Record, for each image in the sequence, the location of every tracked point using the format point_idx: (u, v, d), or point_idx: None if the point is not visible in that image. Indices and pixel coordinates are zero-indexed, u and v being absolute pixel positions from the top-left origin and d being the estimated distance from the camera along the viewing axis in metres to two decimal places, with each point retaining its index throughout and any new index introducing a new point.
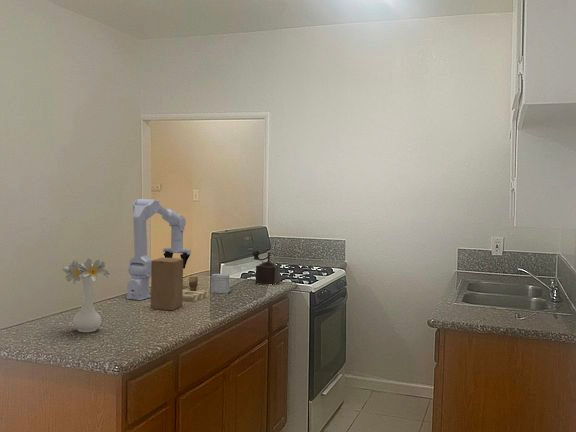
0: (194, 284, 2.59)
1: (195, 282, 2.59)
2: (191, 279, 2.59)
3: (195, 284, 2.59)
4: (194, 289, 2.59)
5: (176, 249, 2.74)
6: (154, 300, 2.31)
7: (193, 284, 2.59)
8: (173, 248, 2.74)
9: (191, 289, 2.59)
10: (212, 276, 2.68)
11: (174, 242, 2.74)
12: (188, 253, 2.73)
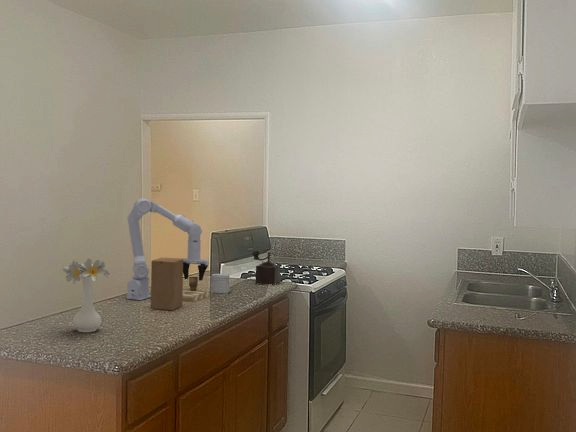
0: (194, 284, 2.59)
1: (195, 282, 2.59)
2: (191, 279, 2.59)
3: (195, 284, 2.59)
4: (194, 289, 2.59)
5: (193, 260, 2.57)
6: (154, 300, 2.31)
7: (193, 284, 2.59)
8: (190, 259, 2.57)
9: (191, 289, 2.59)
10: (212, 276, 2.68)
11: (191, 252, 2.57)
12: (206, 264, 2.56)
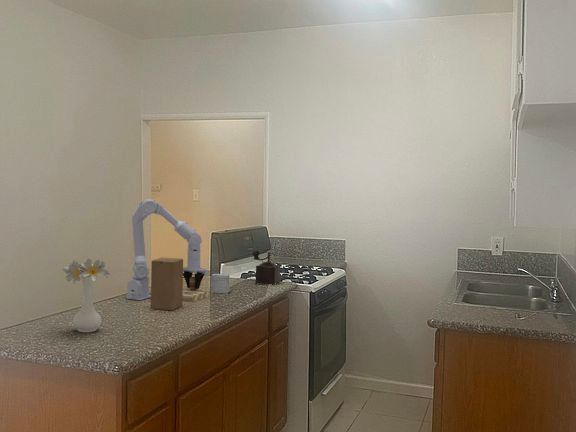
0: (194, 284, 2.59)
1: (195, 282, 2.59)
2: (191, 279, 2.59)
3: (195, 284, 2.59)
4: (194, 289, 2.59)
5: (193, 269, 2.57)
6: (154, 300, 2.31)
7: (193, 284, 2.59)
8: (190, 268, 2.57)
9: (191, 289, 2.59)
10: (212, 276, 2.68)
11: (191, 261, 2.57)
12: (206, 273, 2.57)
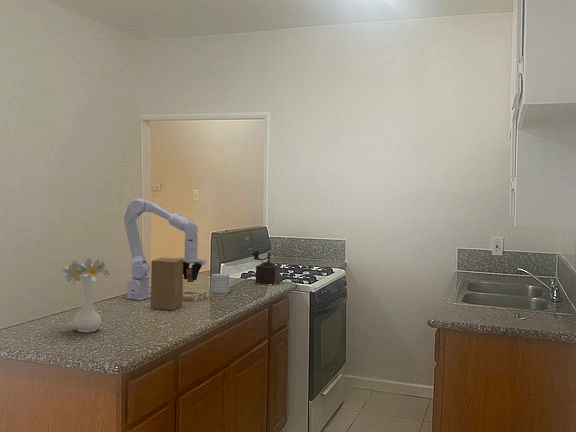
0: (191, 275, 2.52)
1: (192, 273, 2.52)
2: (188, 270, 2.52)
3: (192, 275, 2.52)
4: (191, 280, 2.53)
5: (190, 259, 2.51)
6: (154, 300, 2.31)
7: (190, 275, 2.52)
8: (187, 258, 2.51)
9: (188, 280, 2.53)
10: (212, 276, 2.68)
11: (188, 252, 2.51)
12: (203, 264, 2.50)
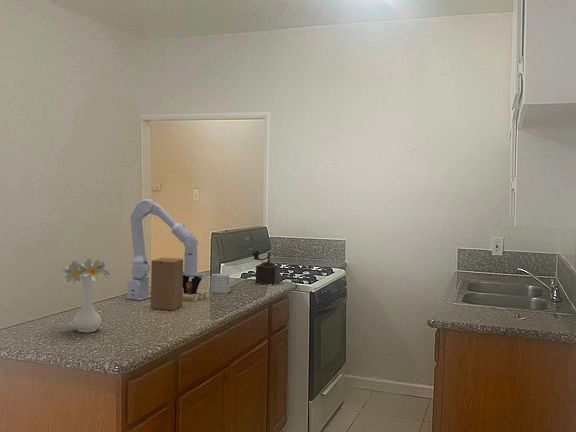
0: (191, 289, 2.53)
1: None
2: (188, 284, 2.52)
3: None
4: None
5: (190, 273, 2.51)
6: (154, 300, 2.31)
7: (190, 289, 2.52)
8: (186, 272, 2.51)
9: None
10: (212, 276, 2.68)
11: (188, 265, 2.51)
12: (203, 277, 2.50)
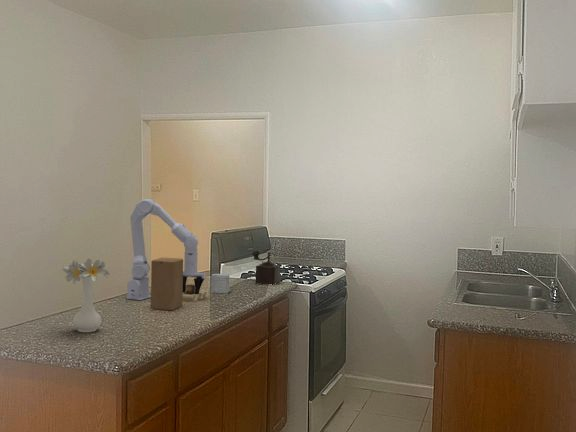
0: (191, 292, 2.53)
1: (192, 290, 2.53)
2: (188, 287, 2.52)
3: (192, 292, 2.53)
4: None
5: (190, 273, 2.51)
6: (154, 300, 2.31)
7: (190, 292, 2.52)
8: (187, 272, 2.51)
9: None
10: (212, 276, 2.68)
11: (188, 265, 2.51)
12: (203, 277, 2.50)
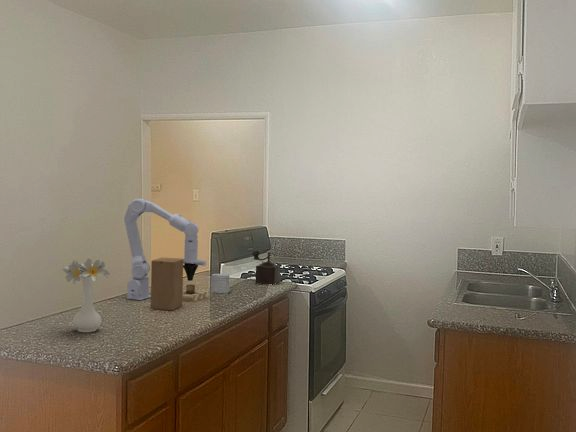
0: (191, 292, 2.53)
1: (192, 290, 2.53)
2: (188, 287, 2.52)
3: (192, 292, 2.53)
4: None
5: (190, 260, 2.51)
6: (154, 300, 2.31)
7: (190, 292, 2.52)
8: (187, 259, 2.51)
9: None
10: (212, 276, 2.68)
11: (188, 252, 2.51)
12: (203, 265, 2.50)
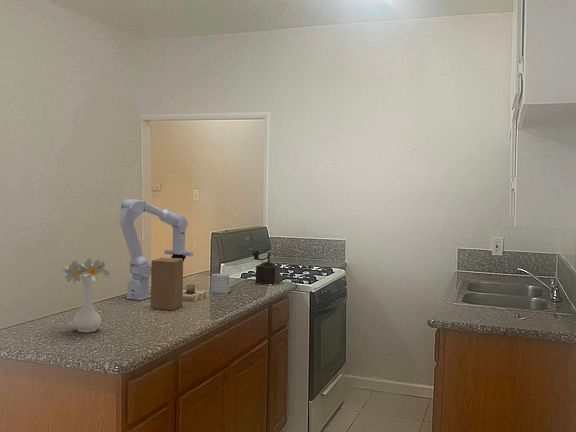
0: (191, 292, 2.53)
1: (192, 290, 2.53)
2: (188, 287, 2.52)
3: (192, 292, 2.53)
4: None
5: (178, 251, 2.63)
6: (154, 300, 2.31)
7: (190, 292, 2.52)
8: (175, 250, 2.63)
9: None
10: (212, 276, 2.68)
11: (176, 244, 2.63)
12: (190, 255, 2.63)
